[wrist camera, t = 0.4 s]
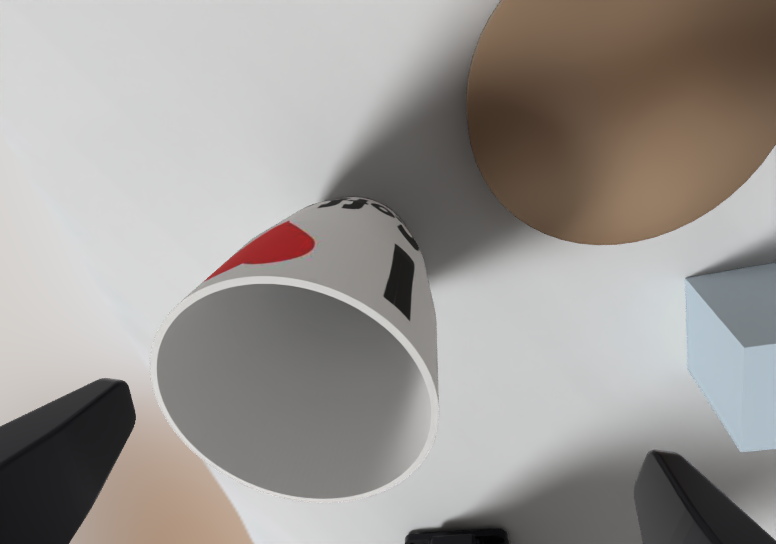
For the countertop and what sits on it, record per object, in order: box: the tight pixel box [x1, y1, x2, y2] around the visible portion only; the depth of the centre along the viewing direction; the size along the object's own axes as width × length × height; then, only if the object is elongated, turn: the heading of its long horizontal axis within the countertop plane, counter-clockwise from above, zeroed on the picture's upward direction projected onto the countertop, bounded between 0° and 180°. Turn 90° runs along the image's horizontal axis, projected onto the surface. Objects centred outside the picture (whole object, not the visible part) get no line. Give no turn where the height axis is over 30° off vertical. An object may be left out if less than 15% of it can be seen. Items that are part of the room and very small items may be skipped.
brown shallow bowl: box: [466, 0, 776, 245], centre depth 17 cm, size 10×10×2 cm
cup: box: [150, 197, 439, 503], centre depth 18 cm, size 8×8×10 cm
